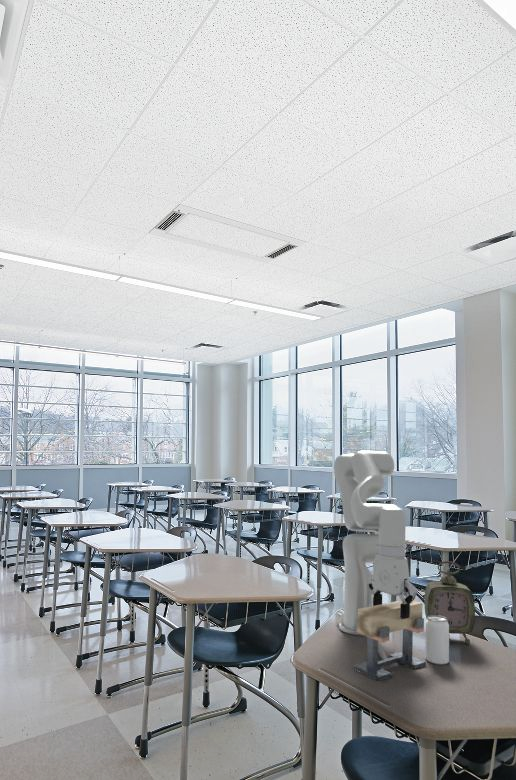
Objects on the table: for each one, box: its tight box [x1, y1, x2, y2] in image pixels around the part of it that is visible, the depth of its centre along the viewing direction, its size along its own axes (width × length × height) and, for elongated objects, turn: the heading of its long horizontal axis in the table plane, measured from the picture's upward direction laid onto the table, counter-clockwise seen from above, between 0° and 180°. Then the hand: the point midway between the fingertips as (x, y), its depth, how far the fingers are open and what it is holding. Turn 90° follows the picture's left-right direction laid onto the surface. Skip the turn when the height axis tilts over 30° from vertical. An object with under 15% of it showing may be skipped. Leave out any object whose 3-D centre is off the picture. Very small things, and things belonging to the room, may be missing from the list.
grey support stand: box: [353, 617, 427, 682], centre depth 150 cm, size 9×20×13 cm, turn 127°
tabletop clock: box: [423, 560, 476, 645], centre depth 176 cm, size 14×9×25 cm, turn 82°
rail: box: [357, 599, 423, 637], centre depth 151 cm, size 5×22×6 cm, turn 127°
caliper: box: [378, 641, 389, 660], centre depth 161 cm, size 20×1×6 cm, turn 4°
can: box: [425, 615, 450, 666], centre depth 157 cm, size 6×6×12 cm
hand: (390, 613), depth 151 cm, fingers open, 9 cm apart
